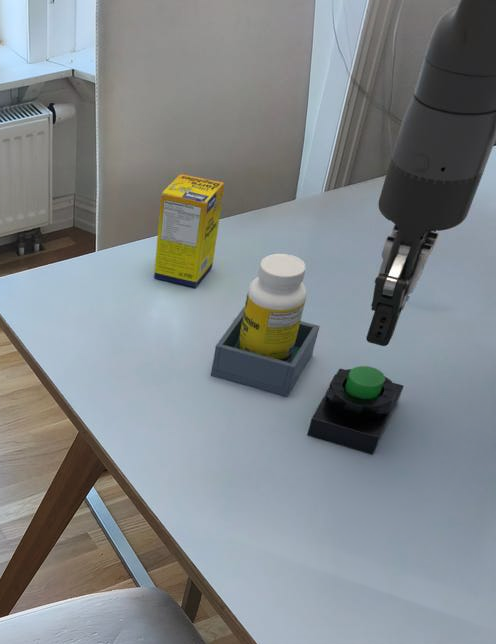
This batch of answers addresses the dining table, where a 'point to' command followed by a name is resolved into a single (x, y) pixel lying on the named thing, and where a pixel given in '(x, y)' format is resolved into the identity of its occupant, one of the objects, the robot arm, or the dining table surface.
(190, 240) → the supplement box
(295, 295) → the pill bottle
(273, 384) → the basket
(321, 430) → the control block
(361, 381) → the button
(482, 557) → the dining table surface
